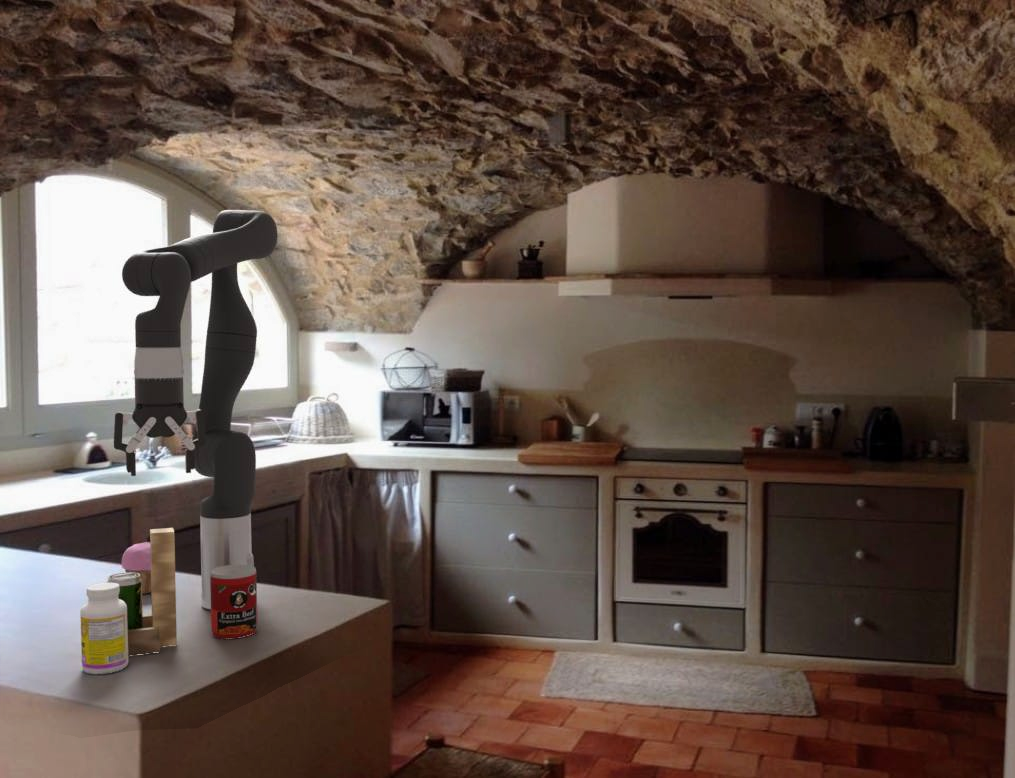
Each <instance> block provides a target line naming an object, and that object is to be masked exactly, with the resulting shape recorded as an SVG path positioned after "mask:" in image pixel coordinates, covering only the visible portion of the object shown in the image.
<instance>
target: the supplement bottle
mask: <svg viewBox="0 0 1015 778" xmlns="http://www.w3.org/2000/svg"><path fill="white" fill-rule="evenodd" d="M119 592H120V587H119V584H117V583H107V582H102V583H101V582H100V583H95V584H91V585H88V586H87V587H86V597H87V598H88V601H87V602H85V603H84V605H83V606H82V607H81V608H80V616H79V617H80V642H81V646H80V647H81V667H82V670H83V671H84V673H87V674H89V675H98V674H99V675H106V674H105V673H109V674H112V673H111V672H114V673H116V672H115V671H117V672H120V671H122V670H124V669H125V668H126V667H127V666H128V665H129V657H128V629H127V605H126V603H125V602H124V601H123V600H121V599H119V598H118V595H119ZM123 668H124V669H123ZM119 670H120V671H119Z"/></svg>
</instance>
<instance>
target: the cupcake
mask: <svg viewBox="0 0 1015 778" xmlns="http://www.w3.org/2000/svg"><path fill="white" fill-rule="evenodd" d="M121 568H122V569H123V570H125V571H124V573H126V572H133V573H139V574H140V578H141V580H142V595H143V594H144V595H145V594H151V551H150V541H145V542H141V543H135V544H132V546H129V547H128V548H126V549H125V551H124V553H123V555H122V557H121Z"/></svg>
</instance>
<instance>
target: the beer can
mask: <svg viewBox="0 0 1015 778" xmlns="http://www.w3.org/2000/svg"><path fill="white" fill-rule="evenodd" d="M106 583H117V584H119V587H120V592H119V595H118V598H119V599H121V600H123V601H124V602H125V603H126V605H127V629H128V630H131V629H141V628H143V615H144V613H143V612H144V611H143V594H142V580H141V578H140V574H139V573H133V572H119V573H114V574H110V575H109V576H108V577H107V581H106Z"/></svg>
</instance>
